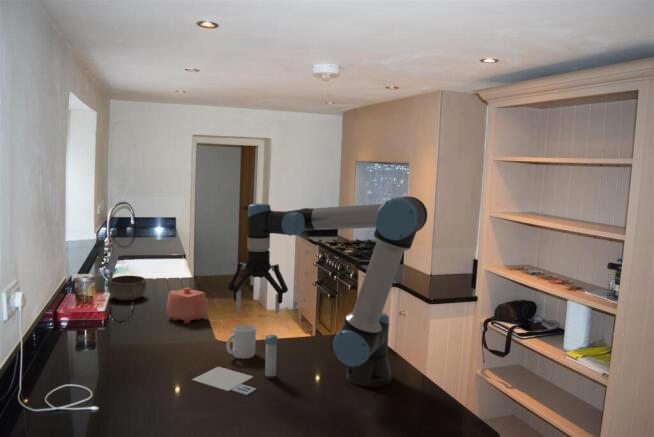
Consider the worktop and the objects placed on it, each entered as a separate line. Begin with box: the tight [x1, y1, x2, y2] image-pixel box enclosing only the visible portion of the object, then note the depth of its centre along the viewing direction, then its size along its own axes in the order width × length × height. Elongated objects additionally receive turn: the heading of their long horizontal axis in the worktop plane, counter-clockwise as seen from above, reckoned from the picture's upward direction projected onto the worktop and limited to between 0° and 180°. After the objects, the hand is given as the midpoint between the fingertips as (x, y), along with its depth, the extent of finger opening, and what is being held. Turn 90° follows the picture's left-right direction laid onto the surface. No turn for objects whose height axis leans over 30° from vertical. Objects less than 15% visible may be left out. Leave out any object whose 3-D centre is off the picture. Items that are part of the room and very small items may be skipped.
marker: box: [264, 334, 278, 380], centre depth 177 cm, size 4×4×14 cm
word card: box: [230, 383, 257, 396], centre depth 166 cm, size 6×5×1 cm
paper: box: [191, 366, 254, 392], centre depth 174 cm, size 15×13×1 cm
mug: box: [225, 324, 257, 360], centre depth 194 cm, size 12×8×10 cm
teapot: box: [166, 287, 209, 325], centre depth 235 cm, size 22×13×14 cm, turn 61°
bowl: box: [108, 275, 147, 302], centre depth 265 cm, size 17×18×10 cm
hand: (257, 311), depth 180 cm, fingers open, 13 cm apart
